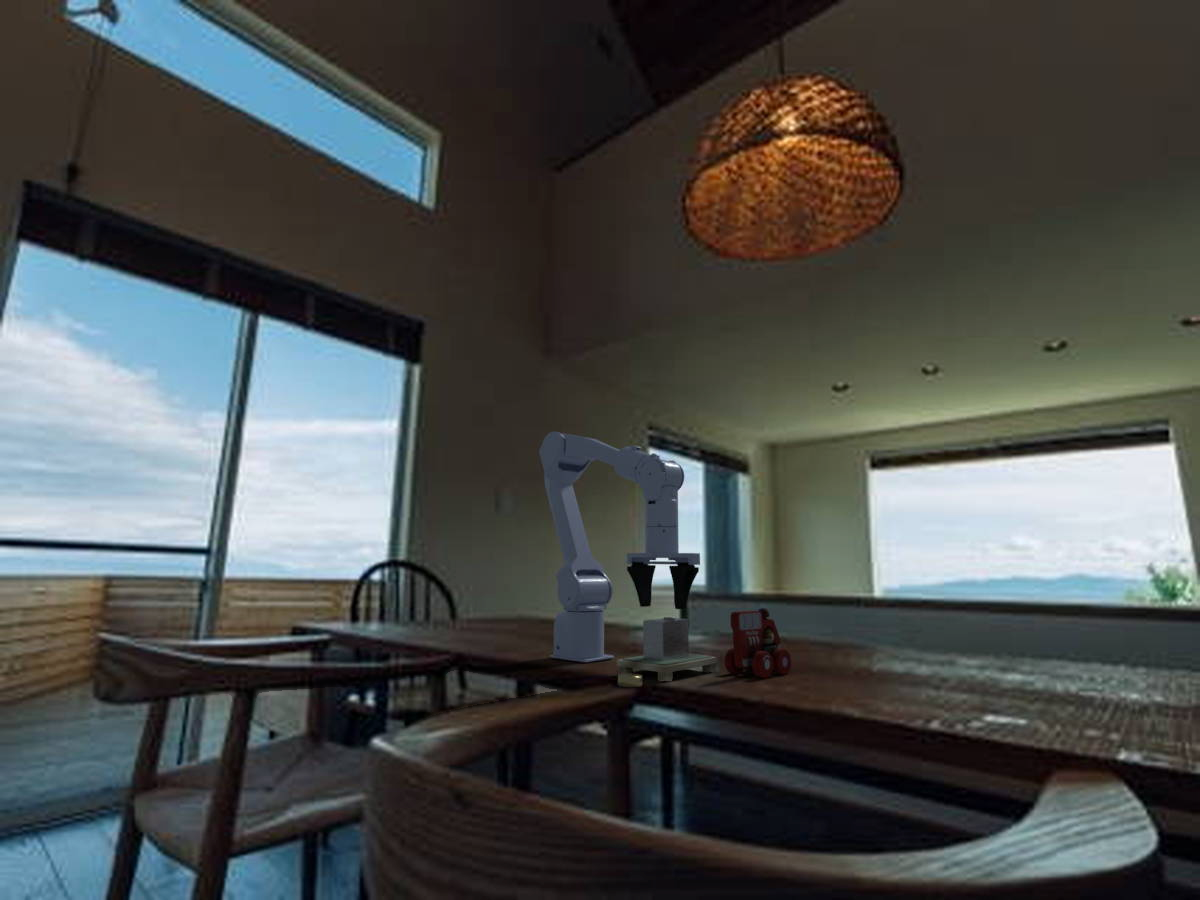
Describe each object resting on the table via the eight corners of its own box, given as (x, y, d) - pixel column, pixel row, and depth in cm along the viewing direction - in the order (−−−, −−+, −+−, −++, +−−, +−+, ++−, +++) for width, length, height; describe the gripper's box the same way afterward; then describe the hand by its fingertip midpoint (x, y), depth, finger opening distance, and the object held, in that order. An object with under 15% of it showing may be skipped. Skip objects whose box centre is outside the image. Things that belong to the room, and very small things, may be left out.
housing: (643, 658, 105) (643, 618, 106) (669, 654, 110) (668, 616, 111) (663, 661, 103) (662, 620, 104) (688, 656, 108) (688, 617, 109)
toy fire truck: (798, 672, 108) (795, 608, 109) (755, 681, 99) (752, 611, 101) (762, 667, 113) (760, 606, 114) (718, 675, 104) (716, 609, 106)
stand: (616, 674, 105) (616, 658, 105) (669, 665, 115) (669, 650, 115) (666, 682, 98) (666, 665, 98) (717, 671, 108) (717, 655, 108)
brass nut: (612, 686, 96) (612, 675, 96) (628, 683, 99) (628, 672, 99) (631, 689, 94) (631, 678, 94) (647, 686, 96) (647, 675, 97)
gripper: (615, 527, 115) (615, 606, 113) (681, 525, 105) (682, 611, 103) (641, 529, 120) (641, 604, 118) (706, 527, 110) (708, 609, 108)
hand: (662, 607), depth 111 cm, fingers open, 7 cm apart
